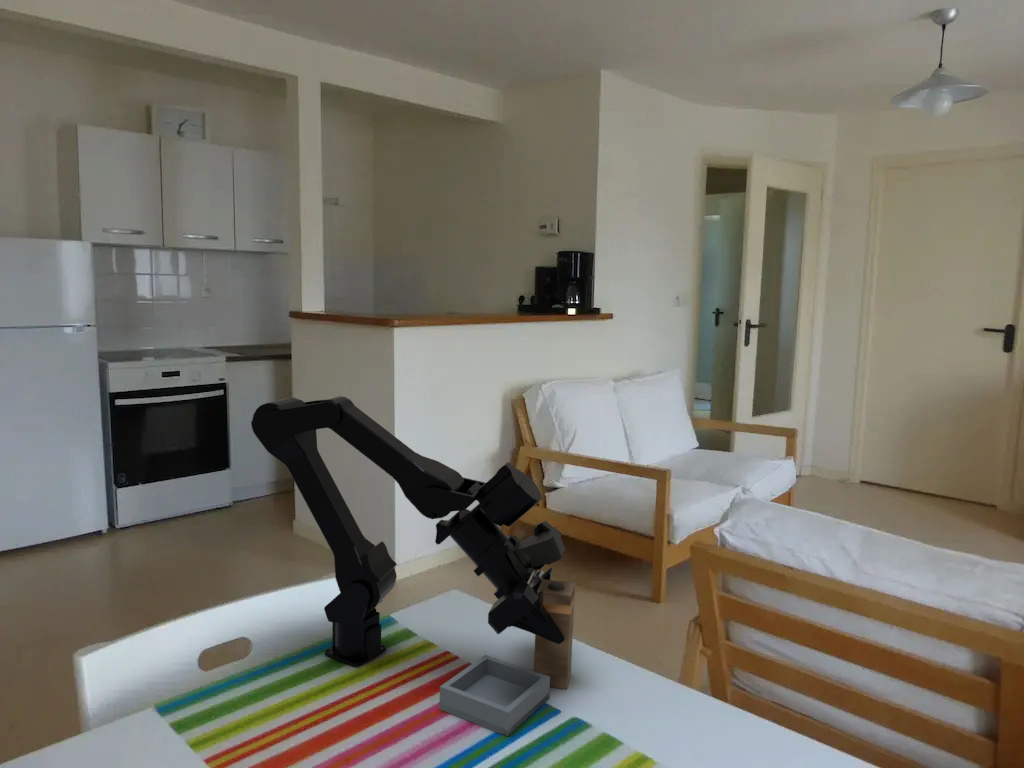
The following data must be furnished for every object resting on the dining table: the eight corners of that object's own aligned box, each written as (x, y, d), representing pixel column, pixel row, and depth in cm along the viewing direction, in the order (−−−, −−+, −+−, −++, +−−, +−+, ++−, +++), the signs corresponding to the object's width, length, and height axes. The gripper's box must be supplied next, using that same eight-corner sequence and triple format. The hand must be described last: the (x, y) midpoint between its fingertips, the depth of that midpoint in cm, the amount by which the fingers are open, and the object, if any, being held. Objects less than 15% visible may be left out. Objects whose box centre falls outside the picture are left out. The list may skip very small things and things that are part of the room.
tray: (439, 709, 93) (440, 686, 93) (484, 675, 102) (485, 654, 102) (507, 736, 88) (508, 712, 88) (549, 698, 97) (550, 676, 96)
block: (532, 684, 100) (536, 591, 98) (538, 668, 104) (542, 578, 103) (566, 689, 99) (571, 595, 97) (571, 672, 104) (575, 581, 102)
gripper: (516, 530, 91) (603, 628, 90) (541, 491, 109) (614, 572, 108) (452, 585, 93) (536, 681, 92) (487, 538, 111) (557, 618, 110)
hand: (564, 633), depth 101 cm, fingers closed on block, 4 cm apart
